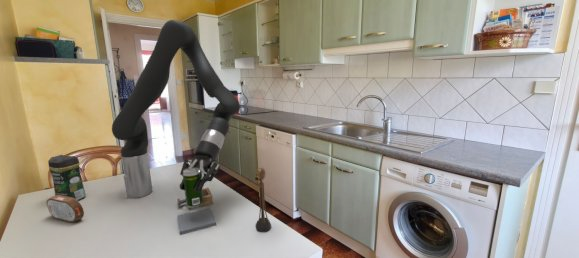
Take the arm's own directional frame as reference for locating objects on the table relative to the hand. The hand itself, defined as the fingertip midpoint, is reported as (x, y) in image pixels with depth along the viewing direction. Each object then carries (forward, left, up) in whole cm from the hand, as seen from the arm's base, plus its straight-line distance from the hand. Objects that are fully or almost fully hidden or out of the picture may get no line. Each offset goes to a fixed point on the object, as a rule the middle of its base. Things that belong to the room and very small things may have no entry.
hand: (189, 190), depth 84 cm
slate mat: (+1, +1, -12) cm, 12 cm away
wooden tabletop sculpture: (+19, -14, -12) cm, 27 cm away
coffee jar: (-42, +44, -12) cm, 62 cm away
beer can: (+1, +1, -6) cm, 6 cm away
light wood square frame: (+3, +15, -12) cm, 19 cm away
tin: (-39, +25, -12) cm, 48 cm away
